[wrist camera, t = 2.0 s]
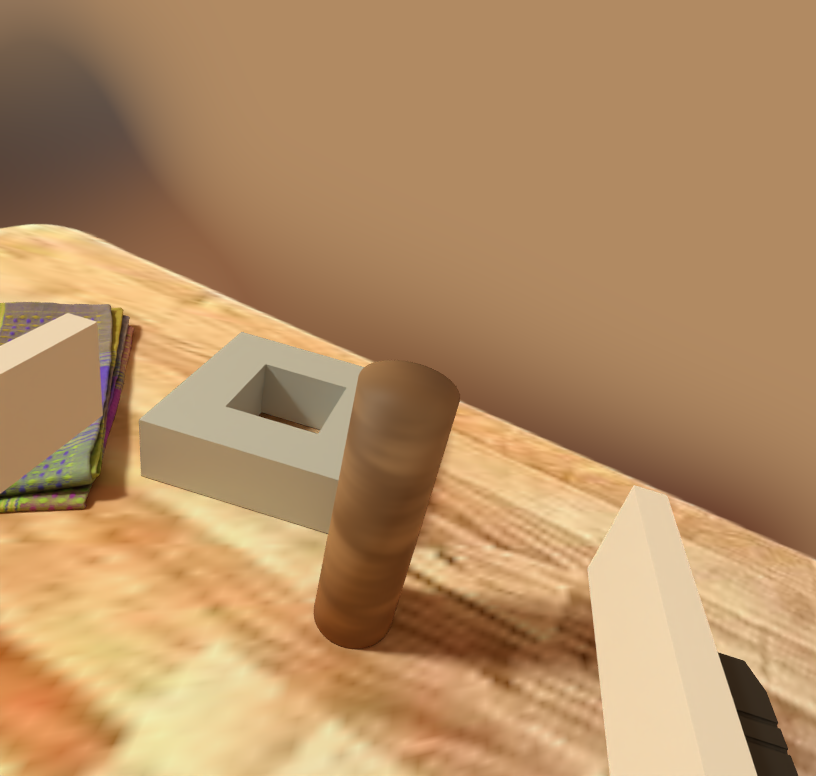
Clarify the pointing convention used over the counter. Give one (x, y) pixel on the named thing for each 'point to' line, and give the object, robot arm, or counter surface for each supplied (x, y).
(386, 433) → the walnut dowel
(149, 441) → the socket block
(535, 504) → the counter surface
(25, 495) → the dish towel
